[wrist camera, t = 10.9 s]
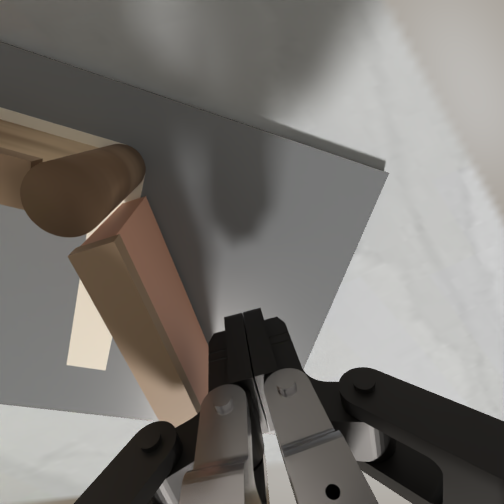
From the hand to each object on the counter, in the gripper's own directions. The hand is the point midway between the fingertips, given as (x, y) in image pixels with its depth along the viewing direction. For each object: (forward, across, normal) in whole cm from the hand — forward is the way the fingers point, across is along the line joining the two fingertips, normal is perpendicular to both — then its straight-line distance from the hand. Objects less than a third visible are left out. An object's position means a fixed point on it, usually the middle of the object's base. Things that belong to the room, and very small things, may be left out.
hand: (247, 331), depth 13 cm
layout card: (+4, +5, -2) cm, 7 cm away
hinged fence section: (+3, +3, -1) cm, 4 cm away
